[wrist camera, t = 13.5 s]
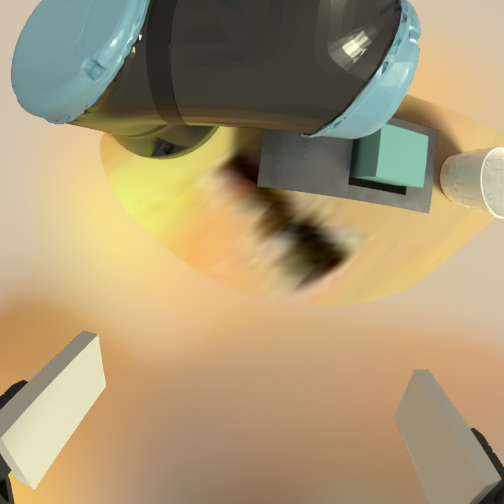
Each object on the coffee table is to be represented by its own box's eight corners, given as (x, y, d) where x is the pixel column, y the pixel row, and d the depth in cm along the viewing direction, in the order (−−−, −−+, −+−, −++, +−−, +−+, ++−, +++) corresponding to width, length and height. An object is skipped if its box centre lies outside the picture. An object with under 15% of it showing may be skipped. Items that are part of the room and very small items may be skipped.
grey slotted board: (258, 185, 35) (257, 186, 32) (267, 103, 33) (267, 94, 29) (414, 209, 35) (428, 213, 31) (422, 134, 33) (437, 130, 29)
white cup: (443, 140, 33) (487, 134, 23) (483, 164, 33) (528, 165, 23) (429, 195, 34) (473, 202, 25) (470, 216, 35) (515, 228, 25)
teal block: (347, 176, 35) (375, 176, 25) (352, 136, 34) (381, 122, 24) (385, 184, 35) (423, 187, 25) (390, 145, 33) (428, 136, 24)
